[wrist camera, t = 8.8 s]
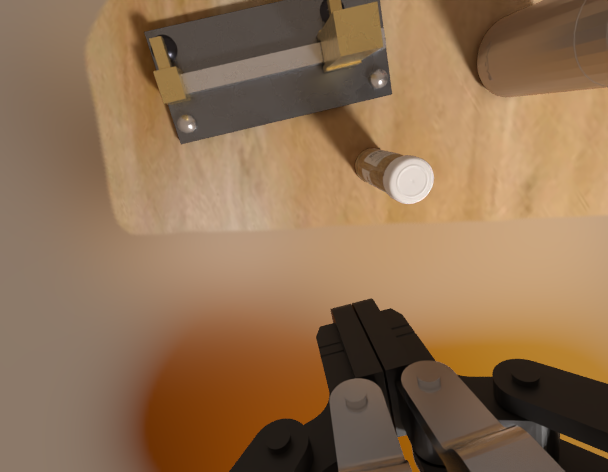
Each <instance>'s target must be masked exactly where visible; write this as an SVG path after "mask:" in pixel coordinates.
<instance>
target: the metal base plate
mask: <svg viewBox="0 0 608 472" xmlns="http://www.w3.org/2000/svg"><path fill="white" fill-rule="evenodd" d="M373 2H377V3H378V10H379V18H380V25H381V28H383V21H382V13H381V6H380V0H341V5H342V9H346V8H351V7H355V6H359V5H364V4H368V3H373ZM327 9H328V4H327V0H284V1H279V2H275V3H270V4H266V5H261V6H257V7H253V8H248V9H244V10H239V11H235V12H230V13H226V14H221V15H217V16H213V17H208V18H204V19H199V20H195V21H190V22H186V23H182V24H177V25H173V26H168V27H164V28H159V29H155V30H150V31H146V32H144V33H145V36H146V39H147V42H148V45H149V49H150V52H151V55H152V58H153V61H154V64H155V67H156V70H159V68H158V65H157V62H156V59H155V56H154V53H153V49H152V46H151V43H150V40H149V38H154V37H158V36H161V37H162V38H163V39H164V42H165V45H166V47H167V52H168V55H169V58H170V61H171V64H172V67H175V66H176V67H178V68H179V69H181V70H182V71H183V74H184V73H189V72H193V71H197V70H202V69H206V68H210V67H215V66H219V65H223V64H228V63H232V62H236V61H241V60H245V59H249V58H254V57H258V56H262V55H267V54H271V53H276V52H280V51H284V50H289V49H293V48H297V47H302V46H306V45H310V44H315V43H319V42H321V41H318V38H317V34H318V32H319V30H322V28H323V27H324V25H325V23H326V22H327V20H328V19H329V17H330V16H329V14H328V13H327ZM361 62H362V63H360V64H358V65H355V66H351V67H347V68H343V69H338V70H334V71H330V72H325V73H324V70H323V66H324V65H325V63H324V64H320V65H315V66H311V67H307V68H302V69H298V70H294V71H290V72H285V73H281V74H277V75H272V76H268V77H264V78H259V79H255V80H251V81H246V82H242V83H238V84H234V85H229V86H225V87H221V88H216V89H212V90H208V91H203V92H199V93H195V94H190V97H191V100H190V101H186V102H181V103H177V104H173V105H168V106H169V109H170V112H171V115H172V118H173V121H174V124H175V128H176V131H177V134H178V137H179V140H180V143H181V144H184V143H188V142H192V141H197V140H201V139H205V138H209V137H214V136H218V135H222V134H226V133H230V132H235V131H239V130H243V129H247V128H252V127H256V126H260V125H264V124H268V123H273V122H277V121H281V120H285V119H290V118H294V117H298V116H302V115H306V114H311V113H315V112H319V111H323V110H328V109H332V108H336V107H340V106H345V105H349V104H353V103H357V102H361V101H366V100H370V99H374V98H378V97H383V96H387V95H391V94H392V90H391V82H390V75H389V67H388V59H387V52H386V48H385V49H383V50H380V51H376V52H374V53H373V54H371V55H369V56H368V57H366V58H365V59H363V60H361Z"/></svg>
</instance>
